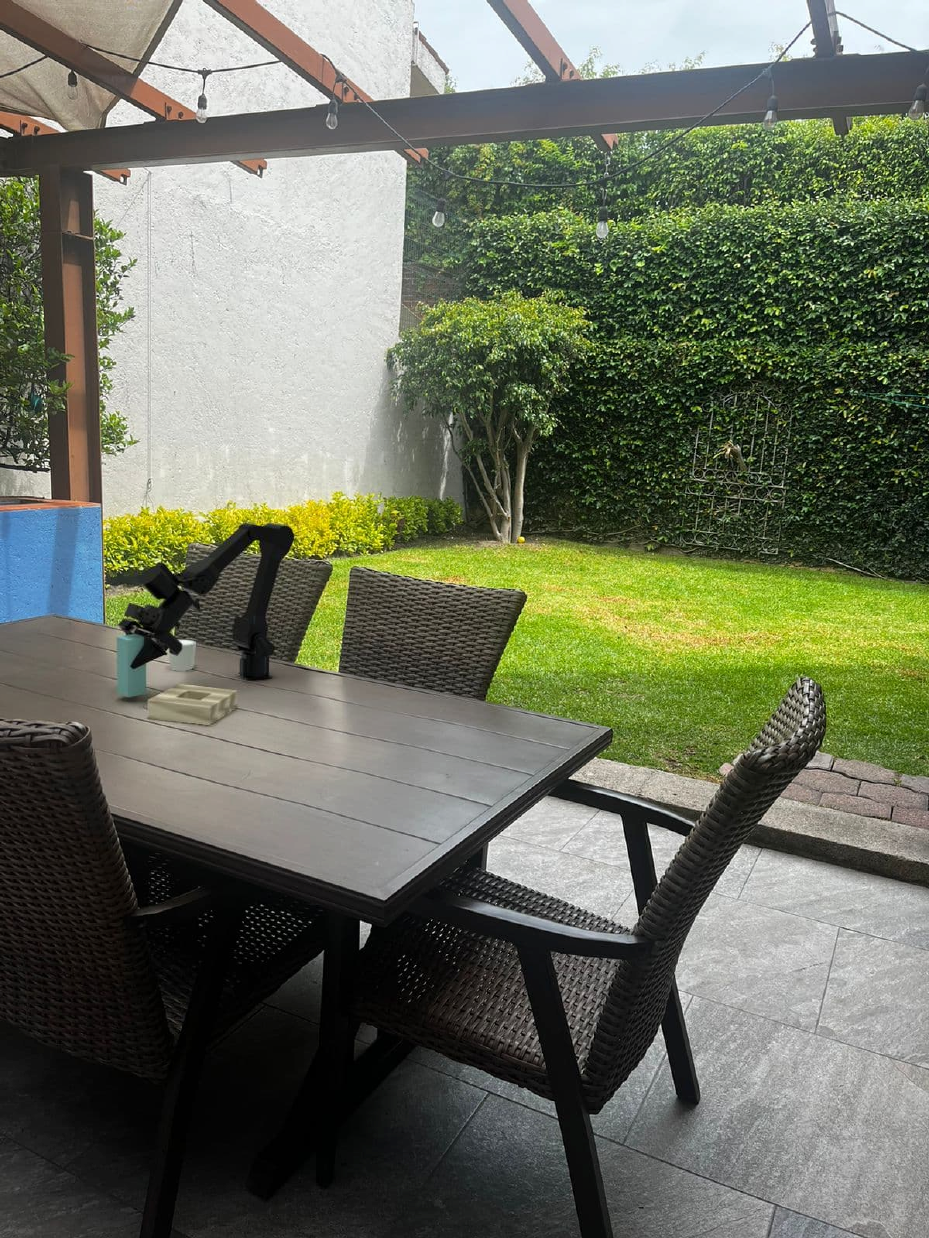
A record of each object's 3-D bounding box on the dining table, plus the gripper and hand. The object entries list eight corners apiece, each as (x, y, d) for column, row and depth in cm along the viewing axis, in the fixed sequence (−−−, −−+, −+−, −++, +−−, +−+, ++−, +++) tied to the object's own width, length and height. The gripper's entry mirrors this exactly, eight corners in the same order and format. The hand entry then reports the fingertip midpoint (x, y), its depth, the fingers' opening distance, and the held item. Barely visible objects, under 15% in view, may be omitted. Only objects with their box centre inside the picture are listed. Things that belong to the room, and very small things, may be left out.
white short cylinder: (191, 672, 232) (191, 645, 231) (164, 670, 232) (164, 644, 231) (199, 666, 239) (199, 640, 237) (173, 664, 239) (173, 638, 237)
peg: (135, 689, 210) (135, 634, 207) (146, 693, 207) (146, 637, 204) (117, 692, 206) (116, 636, 204) (127, 697, 204) (127, 640, 201)
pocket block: (179, 700, 208) (179, 683, 208) (237, 707, 206) (237, 690, 205) (147, 718, 195) (147, 700, 194) (209, 725, 192) (209, 707, 192)
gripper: (125, 583, 211) (80, 636, 205) (170, 596, 199) (124, 652, 193) (156, 613, 219) (113, 665, 212) (201, 627, 207) (157, 682, 201)
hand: (125, 665), depth 204 cm, fingers closed on peg, 4 cm apart
